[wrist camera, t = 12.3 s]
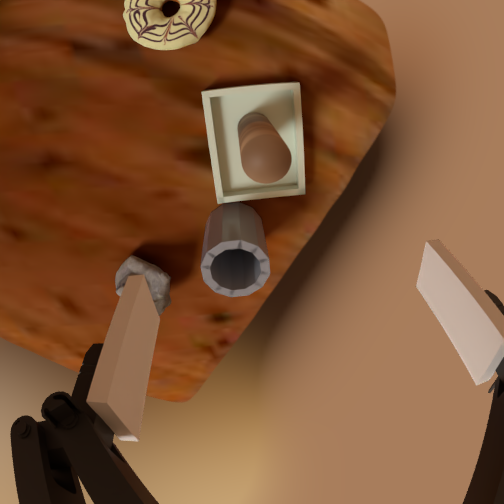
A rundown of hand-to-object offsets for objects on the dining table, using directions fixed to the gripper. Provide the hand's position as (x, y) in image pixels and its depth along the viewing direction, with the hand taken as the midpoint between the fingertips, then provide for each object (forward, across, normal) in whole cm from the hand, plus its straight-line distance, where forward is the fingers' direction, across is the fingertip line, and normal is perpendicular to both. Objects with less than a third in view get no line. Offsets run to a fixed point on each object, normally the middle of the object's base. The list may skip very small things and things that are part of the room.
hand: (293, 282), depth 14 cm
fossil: (+29, -18, -18) cm, 38 cm away
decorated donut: (+29, -8, +18) cm, 35 cm away
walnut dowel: (+28, 0, +1) cm, 28 cm away
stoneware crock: (+29, -4, -12) cm, 31 cm away
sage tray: (+29, 0, 0) cm, 29 cm away
